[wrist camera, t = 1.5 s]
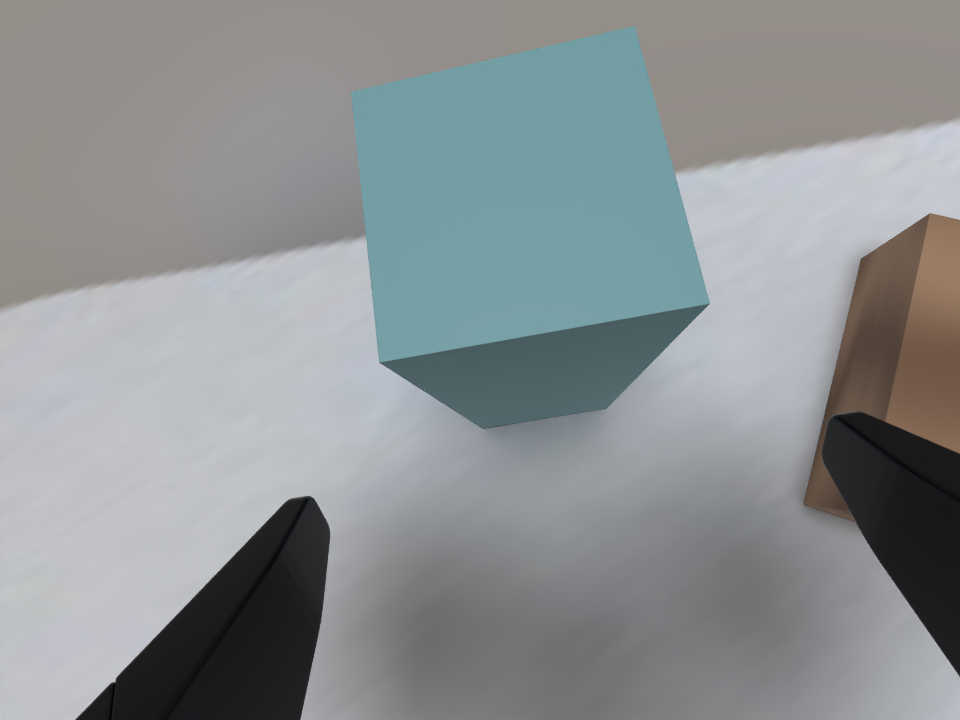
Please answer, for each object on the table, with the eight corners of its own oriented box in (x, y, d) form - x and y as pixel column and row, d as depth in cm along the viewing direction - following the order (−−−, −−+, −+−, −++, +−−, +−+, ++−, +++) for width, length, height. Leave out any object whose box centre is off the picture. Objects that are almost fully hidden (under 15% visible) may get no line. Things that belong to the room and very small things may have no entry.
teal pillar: (606, 408, 20) (709, 303, 7) (482, 428, 20) (379, 362, 8) (581, 291, 21) (634, 26, 8) (465, 313, 21) (351, 91, 9)
